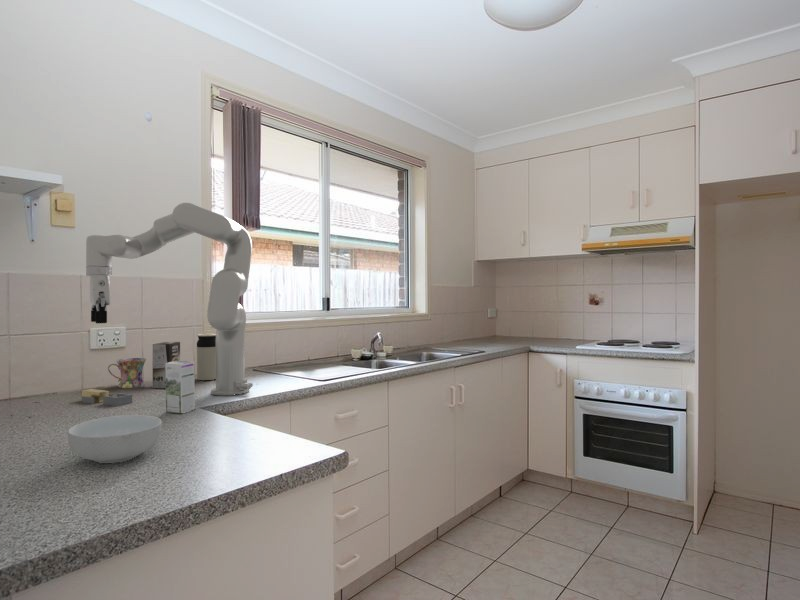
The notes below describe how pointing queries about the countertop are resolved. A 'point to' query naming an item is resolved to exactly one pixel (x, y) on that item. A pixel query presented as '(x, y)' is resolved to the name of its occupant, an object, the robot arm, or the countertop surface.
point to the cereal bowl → (114, 437)
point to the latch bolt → (95, 394)
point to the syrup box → (180, 386)
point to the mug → (130, 372)
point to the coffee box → (163, 361)
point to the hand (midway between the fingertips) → (98, 322)
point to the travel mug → (206, 357)
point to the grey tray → (111, 399)
